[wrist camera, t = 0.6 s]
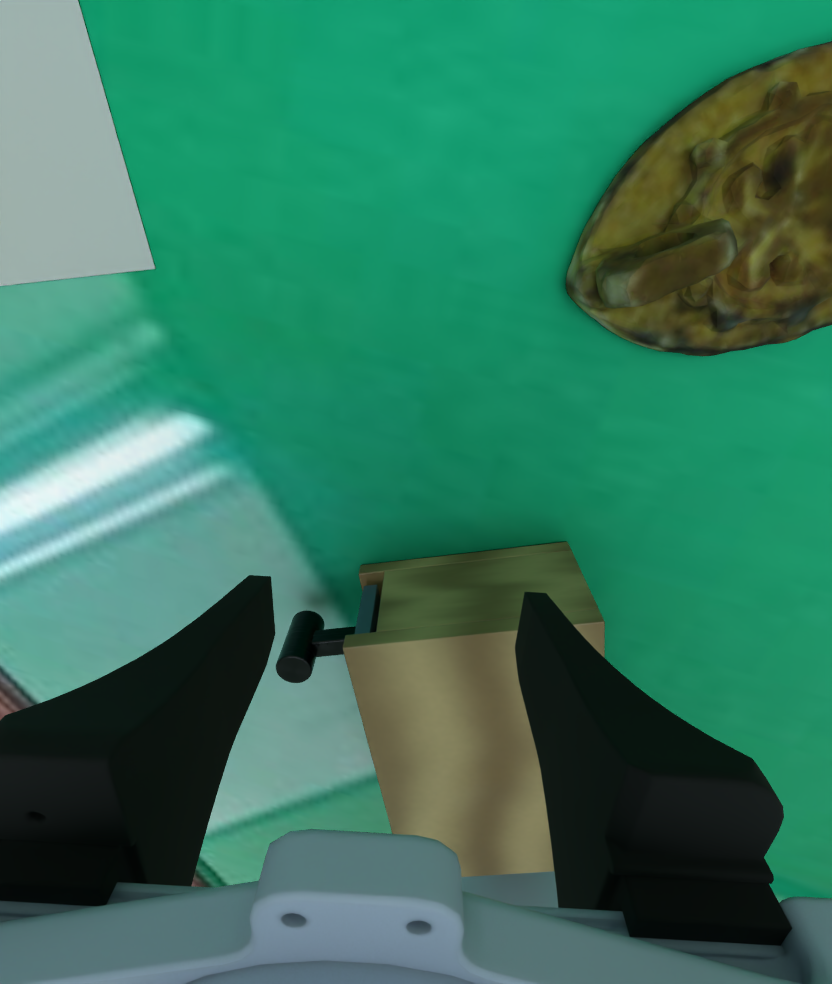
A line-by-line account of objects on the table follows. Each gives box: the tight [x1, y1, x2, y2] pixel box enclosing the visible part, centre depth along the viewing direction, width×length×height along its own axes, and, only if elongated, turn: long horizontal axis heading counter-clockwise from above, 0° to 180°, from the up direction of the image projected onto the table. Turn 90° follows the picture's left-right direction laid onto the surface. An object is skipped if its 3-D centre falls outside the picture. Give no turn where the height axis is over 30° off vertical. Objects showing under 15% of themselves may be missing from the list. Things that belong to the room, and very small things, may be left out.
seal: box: [566, 41, 832, 356], centre depth 18 cm, size 9×5×15 cm
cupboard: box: [343, 542, 605, 877], centre depth 27 cm, size 10×16×6 cm, turn 8°
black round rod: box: [276, 585, 381, 683], centre depth 26 cm, size 4×8×4 cm, turn 8°
